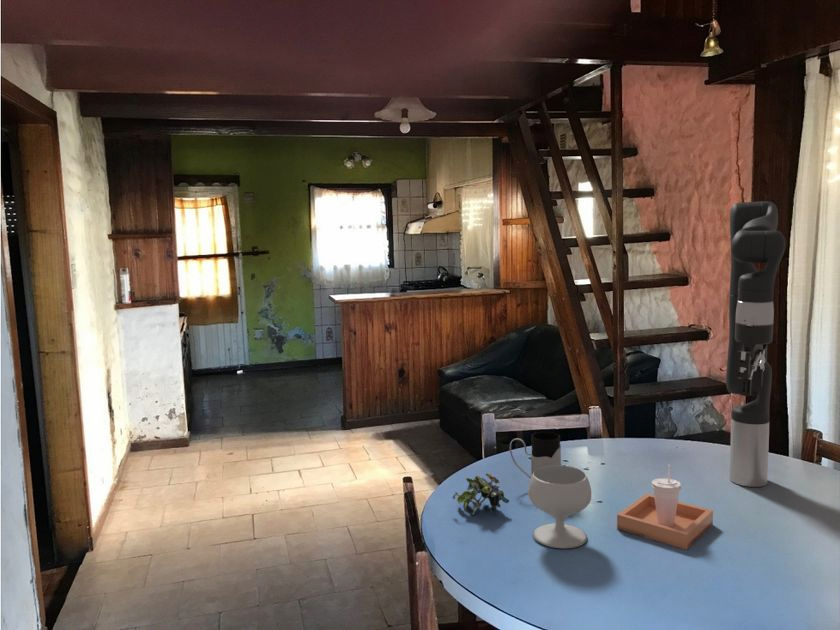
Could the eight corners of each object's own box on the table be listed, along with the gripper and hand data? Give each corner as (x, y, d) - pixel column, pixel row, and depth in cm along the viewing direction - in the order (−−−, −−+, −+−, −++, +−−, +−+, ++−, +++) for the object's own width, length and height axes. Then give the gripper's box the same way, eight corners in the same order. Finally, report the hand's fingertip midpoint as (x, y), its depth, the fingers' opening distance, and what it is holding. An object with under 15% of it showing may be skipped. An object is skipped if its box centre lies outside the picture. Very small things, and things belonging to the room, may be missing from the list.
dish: (646, 506, 162) (646, 493, 162) (712, 524, 151) (713, 510, 151) (617, 529, 151) (617, 514, 150) (686, 549, 140) (686, 534, 140)
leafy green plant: (493, 527, 166) (519, 495, 162) (468, 535, 158) (495, 501, 153) (466, 493, 172) (490, 461, 168) (440, 499, 164) (466, 466, 160)
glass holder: (560, 497, 170) (560, 442, 168) (507, 492, 175) (506, 438, 173) (564, 485, 178) (564, 432, 176) (513, 480, 183) (512, 428, 181)
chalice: (555, 558, 138) (554, 490, 136) (516, 532, 151) (515, 470, 149) (604, 542, 145) (605, 477, 143) (563, 519, 157) (563, 459, 155)
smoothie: (683, 529, 147) (683, 470, 146) (653, 528, 148) (654, 469, 147) (677, 517, 153) (678, 460, 152) (649, 516, 155) (649, 459, 153)
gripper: (746, 314, 152) (742, 381, 155) (725, 324, 142) (722, 395, 144) (781, 317, 147) (777, 386, 150) (763, 327, 137) (759, 401, 139)
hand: (750, 391), depth 147 cm, fingers open, 8 cm apart
